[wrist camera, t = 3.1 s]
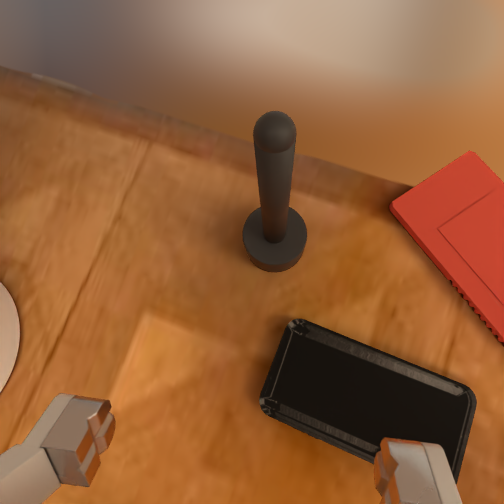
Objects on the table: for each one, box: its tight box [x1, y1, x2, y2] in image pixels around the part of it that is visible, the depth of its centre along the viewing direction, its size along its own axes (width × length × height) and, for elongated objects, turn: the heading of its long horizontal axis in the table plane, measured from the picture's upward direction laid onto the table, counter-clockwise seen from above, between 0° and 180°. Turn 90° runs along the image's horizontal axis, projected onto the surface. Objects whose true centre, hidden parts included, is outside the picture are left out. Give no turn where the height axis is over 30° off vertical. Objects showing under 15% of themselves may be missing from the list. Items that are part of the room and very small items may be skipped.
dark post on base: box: [243, 111, 307, 272], centre depth 23 cm, size 5×5×18 cm
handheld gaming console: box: [389, 151, 504, 346], centre depth 29 cm, size 9×1×15 cm
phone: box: [259, 319, 477, 484], centre depth 27 cm, size 8×1×15 cm
